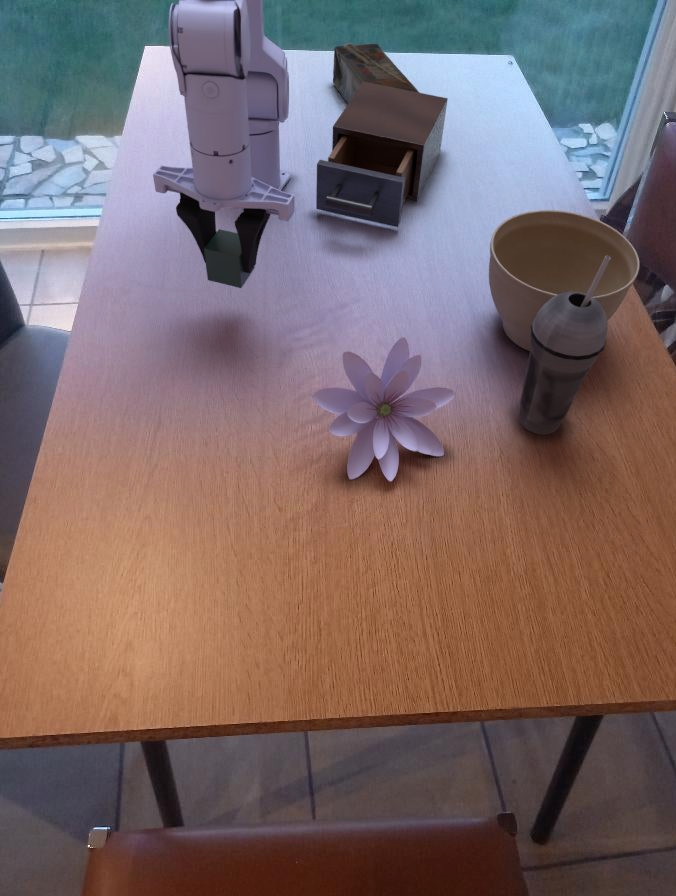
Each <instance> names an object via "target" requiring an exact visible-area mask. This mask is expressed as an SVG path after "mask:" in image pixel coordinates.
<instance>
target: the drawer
mask: <svg viewBox="0 0 676 896" xmlns="http://www.w3.org/2000/svg"><path fill="white" fill-rule="evenodd" d="M417 151H418V150H417V149H412V148H407V147H402V146H397V145H393V144H388V143H383V142H378V141H373V140H369V139H364V138H359V137H354V136H349V135H345V134H343V136H342V137H341V139H340V140H339V142H338V143H337V145H336V146H335V148H334V149H333V151H332V150H331V153H330V154H329V155H328V157H327V160H324V159H319V160H318V161H317V163H316V197H315V198H316V199H315V201H316V202H315V203H316V204H315V206H316V207H315V208H316V210H319V211H324V212H328V213H333V214H336V215H340V216H341V215H342V216H346V217H350V218H355V219H360V220H363V221H368V222H373V223H376V224H381V225H382V224H383V225H386V226H391V227H395V228H399V226H400V224H401V220H402V219H401V218H402V210H403V204H404V203H405V201H406V200H405V199H406V197H407V195H408V193H409V191H410V189H411V187H412V185H413V182H414V176H415V167H416V159H417Z"/></svg>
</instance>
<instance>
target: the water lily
mask: <svg viewBox="0 0 676 896" xmlns="http://www.w3.org/2000/svg"><path fill="white" fill-rule="evenodd" d="M342 366H343V369H344V373H345V375H346V377H347V379H348V380H349V382H350V384H351V385H352V387H353V389H350V388H346V387H345V388H344V387H338V386H337V387H335V386H334V387H333V386H332V387H327V388H326V387H325V388H321V389H319V390H316V391H315V392H313V393H312V394H311V398H312V400H313V401H314V402H315V404H316V405H318V406H319V408H321V409H323V410H324V411H327V412H329V413H332V414H334V415H338V416H336V418H335V419H334V420H333V421H331V424H330V425H329V426H328V432H329V434H330V435H333V436H336V437H351V436H352V435H355V434H356V436H355V438H354V440H353V442H352V445H351V447H350V451H349V453H348V458H347V465H346V472H347V477H348V479H349V480H356V479H357V478H359V477H360V476H362V475H363V474H364V473H365V472H366V471H367V469H368V468H369V467H370V465H371V464H372V462H373V460H374V459H375V458H376V459H377V460H378V464H379V467H380V469H381V472H382V474H383V476H384V477H385V478H386V480H387V481H388V482H390V483H391V482H393V480H394V479H395V478H396V475H397V473H398V469H399V465H400V464H399V462H400V456H399V447H398V443H399V444H400V445H401V446H402V447H404V448H405V449H407V450H410V451H412V452H418V453H420V454H424V455H430V456H432V457H443V456H444V455H445V449H444V447H443V444H442V442H441V441H440V439H439V438H438V436H437V435H436V434H435V433H434V432H433V431H432V430H431V428H429V427H428V426H426V425H425V424H424V423H423V422H421V421H419V420H418V419H416V418H424V417H426V416H429V415H431V414H432V413H433V412H434V411H435V410H437V409H440V408H442V407H444V406H446V405H447V404H448V403H450V402H451V401H452V400H453V399H454V398H455V396H456V394H457V392H456V391H455V390H453V389H452V388H448V387H444V386H443V387H442V386H432V387H426V388H422V389H418V390H414V391H411V392H409V393H407V394H405V393H406V392H407V391H408V390H409V389H410V388H411V387H412V385H413V383H414V382H415V381H416V379H417V377H418V375H419V373H420V370H421V367H422V356H421V354H416V355H413V356H412V357H410V347H409V343H408V340H407V338H406V337H405V336H401V337H400V338H399V339H398V340H397V341H395V343H394V344H393V346H392V347H391V349H390V350H389V352H388V354H387V356H386V359H385V362H384V364H383V368H382V371H381V375H380V377H379V376H378V374H376V373H375V372H374V371H373V369H372V368H371V366H370V365H369V363H367V361H365V359H364V358H362V357H361V356H360V355H359V354H357V353H354V352H352V351H349V350H347V351H346V350H345V351H343V352H342ZM404 394H405V395H404Z"/></svg>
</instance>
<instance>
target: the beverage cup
mask: <svg viewBox="0 0 676 896" xmlns="http://www.w3.org/2000/svg"><path fill="white" fill-rule="evenodd" d="M609 261H610V257H609V256H605V258H604V260H603V262H602V264H601V266H600V268H599V270H598V272H597V274H596V276H595V278H594V280H593V283H592V285H591V287H590V289H589V291H588V293H587V294H585V293H581V292H574V291H572V292H565V293H561V294H559V295H556V296H554V297H553V298H551V299H550V300H549V301H548V302H546V303H545V304H544V305H543V306H542V307H541V309H540V310H539V312H538V314H537V316H536V318H535V319H534V320H533V323H532V325H531V337H530V351H529V353H528V359H527V360H528V361H527V365H526V370H525V375H524V379H523V380H524V381H523V385H522V390H521V397H520V402H519V413H518V421H519V422H520V424H521V426H522V427H523V428H524V429H526V430H527V431H529V432H531V433H534V434H537V435H550V434H552V433H554V432H555V433H556V431H557V430H558V429H559V427H560V425H561V424H562V422H563V420H564V419H565V418H566V415H568V412H569V410H570V408H571V406H572V404H573V403H574V400H575V398H576V396H577V394H578V393H579V391H580V389H581V386H582V384H583V382H584V380H585V378H586V377H587V374H588V373H589V371H590V369H591V367H592V366H593V365H594V364H595V362H596V361H597V359H598V358H599V357H600V355H601V353H602V352H603V351H604V350H605V347H606V344H607V337H608V336H607V335H608V332H609V331H608V330H609V328H608V321H607V319H606V315H605V312H604V310H603V308H602V307H601V305H600V304H599V303H598V302H597V301H596V300H595V299H594V298H593V297H592V295H593V293H594V291H595V289H596V287H597V285H598V283H599V281H600V279H601V277H602V275H603V273H604V271H605V269H606V267H607V265H608V263H609Z"/></svg>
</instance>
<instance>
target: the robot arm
mask: <svg viewBox="0 0 676 896" xmlns="http://www.w3.org/2000/svg"><path fill="white" fill-rule="evenodd" d="M264 20H265V19H264V0H178V3H176V4H175V3H171V4H170V5H169V13H168V41H169V49H170V54H171V58H172V59H171V60H172V64H173V66H174V70H175V73H176V78H177V82H178V83H177V84H178V91H179V94H180V95H181V96H182V97H184V107H185V117H186V125H187V132H188V141H189V151H190V158H191V166H192V167H175V166H167V165H160V166H159V167H158V168H157V170H155V172H153V173H152V177H153V184H154V190H155V192H156V193H159V194H166V193H168V192H172V193H176V194H179V202H178V203H177V205H176V207H175V210H176V211H175V212H176V215H177V217H178V218H179V219H180V220H181V221H182V222H183V224H185V226H186V228H187V229H188V230H189V231H190V233H191V235H192V236H193V237H192V238H194V241H195V242H196V244H197V247H198V249H199V251H200V254H201V257H202V259H203V261H204V263H205V264H206V261H205V252H204V248H205V247H206V246H207V244H208V243H209V241H210V240H211V239H212V237H213V236H214V235H215V233H216V232H217V225H216V213H217V212H219V211H220V210H221V209H243V211H242V212H240V214H239V215H238V217H237V218H236V219H235V221H234V227H235V229H236V230H235V231H236V233H238V236H239V240H240V244H241V252H242V265H243V270H244V272H246V273H250V272H251V271H252V269H253V268H254V267H256V264H257V260H258V259H257V258H258V252H259V247H260V243H261V240H262V237H263V234H264V231H265V228H266V226H267V223H268V221H269V219H270V217H271V215H274V216H278V220H280V221H283V222H289V221H290V220H291V218H292V217H293V215H294V213H296V212H295V194H293V193H290V192H286V191H282V190H283V189H284V187H285V185H287V183H288V182H289V180H290V179H291V174H290V173H288V172H284V171H281V156H280V154H281V151H280V150H281V149H280V124H281V123H282V124H283V123H285V122H286V120H287V119H288V118H289V111H290V76H289V71H288V58H287V56H286V53H285V51H284V50H283V49H282V48H280V47H279V46H278V45H276V44H275V43H274V42H272V40H270V39H269V38H268V37H267V36H266V35H265V21H264ZM254 269H255V268H254ZM252 272H253V271H252Z"/></svg>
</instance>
